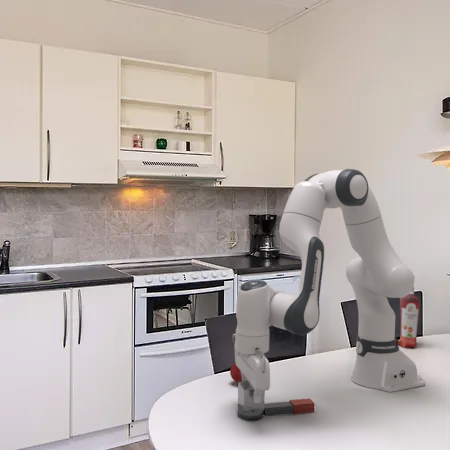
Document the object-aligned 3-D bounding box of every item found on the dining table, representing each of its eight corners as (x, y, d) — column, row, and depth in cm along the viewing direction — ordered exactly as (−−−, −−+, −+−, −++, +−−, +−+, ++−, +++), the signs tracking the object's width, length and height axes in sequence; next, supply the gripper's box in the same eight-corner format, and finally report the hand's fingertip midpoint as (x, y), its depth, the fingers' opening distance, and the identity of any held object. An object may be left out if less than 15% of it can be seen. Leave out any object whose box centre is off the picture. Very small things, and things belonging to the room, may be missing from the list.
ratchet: (306, 404, 139) (307, 383, 139) (317, 415, 133) (317, 393, 132) (234, 410, 134) (234, 388, 134) (241, 422, 128) (241, 399, 127)
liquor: (399, 348, 193) (402, 277, 192) (396, 343, 200) (399, 274, 199) (419, 349, 192) (422, 277, 190) (415, 344, 199) (418, 275, 198)
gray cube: (257, 400, 135) (258, 380, 135) (264, 409, 130) (264, 388, 129) (237, 402, 134) (238, 382, 133) (243, 411, 128) (244, 390, 128)
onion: (247, 388, 150) (247, 362, 150) (228, 386, 152) (228, 360, 151) (250, 381, 156) (250, 356, 156) (231, 379, 157) (232, 354, 157)
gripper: (277, 354, 121) (275, 410, 122) (252, 332, 141) (251, 379, 142) (252, 356, 120) (251, 412, 121) (231, 333, 140) (230, 381, 140)
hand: (251, 394), depth 131 cm, fingers open, 8 cm apart
